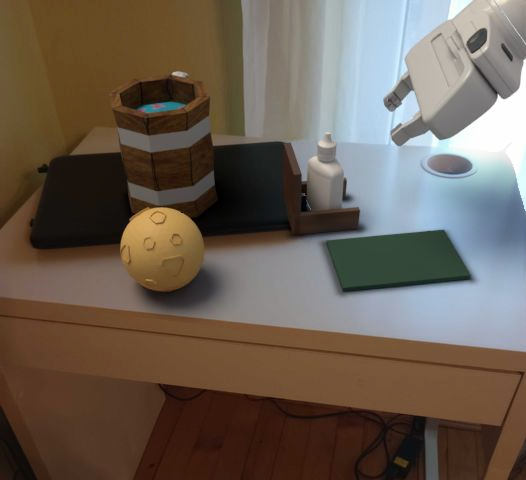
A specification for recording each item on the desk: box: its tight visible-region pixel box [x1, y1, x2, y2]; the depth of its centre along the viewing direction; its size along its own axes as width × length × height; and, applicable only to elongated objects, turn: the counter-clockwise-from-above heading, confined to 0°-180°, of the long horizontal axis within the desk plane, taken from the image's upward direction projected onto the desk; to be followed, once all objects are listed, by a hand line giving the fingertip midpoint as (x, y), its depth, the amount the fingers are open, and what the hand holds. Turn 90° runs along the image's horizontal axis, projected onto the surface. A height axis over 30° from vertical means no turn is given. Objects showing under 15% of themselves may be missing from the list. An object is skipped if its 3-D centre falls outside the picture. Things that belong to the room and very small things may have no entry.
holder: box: [282, 141, 361, 236], centre depth 85 cm, size 9×9×9 cm
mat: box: [325, 229, 472, 292], centre depth 80 cm, size 16×10×1 cm, turn 97°
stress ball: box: [119, 207, 205, 292], centre depth 75 cm, size 10×10×10 cm
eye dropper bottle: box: [305, 131, 345, 212], centre depth 84 cm, size 4×6×12 cm
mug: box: [108, 70, 219, 219], centre depth 89 cm, size 20×14×15 cm
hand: (389, 122), depth 80 cm, fingers open, 8 cm apart
